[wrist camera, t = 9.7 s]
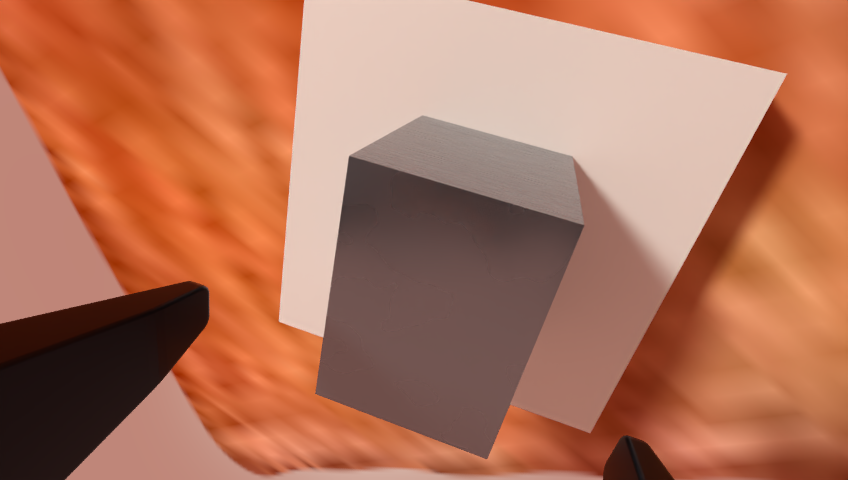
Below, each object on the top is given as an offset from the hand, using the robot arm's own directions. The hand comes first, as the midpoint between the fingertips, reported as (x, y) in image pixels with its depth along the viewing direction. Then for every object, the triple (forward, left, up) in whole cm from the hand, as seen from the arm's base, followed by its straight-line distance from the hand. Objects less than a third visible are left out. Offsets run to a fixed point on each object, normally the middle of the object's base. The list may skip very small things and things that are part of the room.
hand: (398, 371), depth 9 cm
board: (0, 0, -10) cm, 10 cm away
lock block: (0, 0, -8) cm, 8 cm away
